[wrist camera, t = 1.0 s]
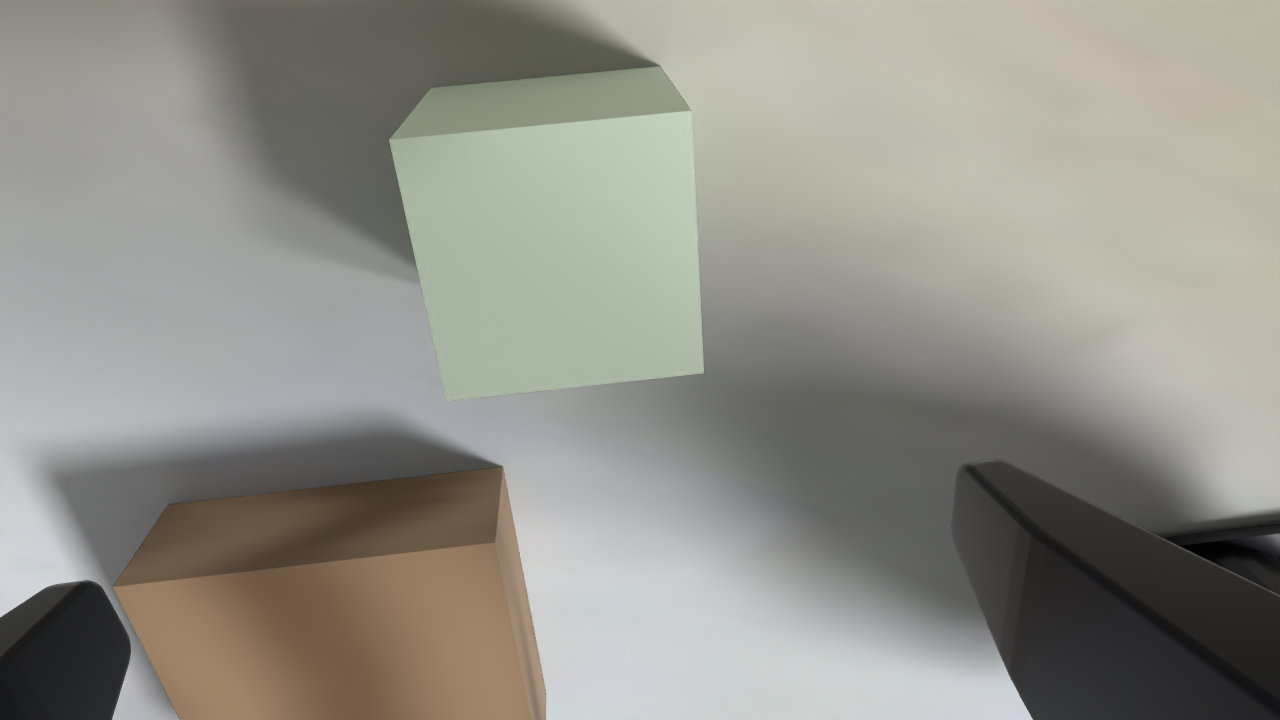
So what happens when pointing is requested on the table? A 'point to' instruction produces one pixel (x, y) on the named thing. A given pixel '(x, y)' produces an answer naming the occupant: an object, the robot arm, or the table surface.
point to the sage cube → (554, 230)
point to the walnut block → (341, 604)
